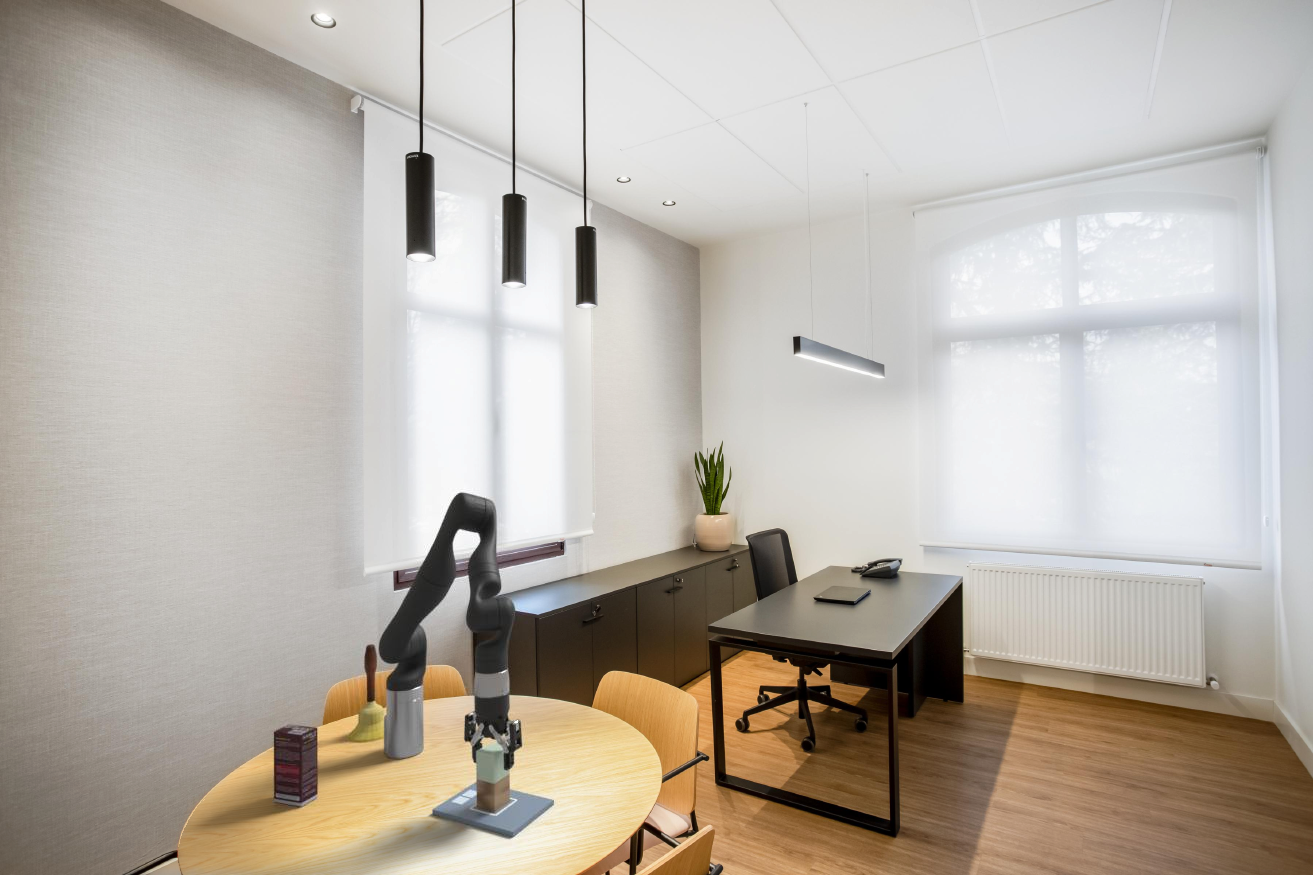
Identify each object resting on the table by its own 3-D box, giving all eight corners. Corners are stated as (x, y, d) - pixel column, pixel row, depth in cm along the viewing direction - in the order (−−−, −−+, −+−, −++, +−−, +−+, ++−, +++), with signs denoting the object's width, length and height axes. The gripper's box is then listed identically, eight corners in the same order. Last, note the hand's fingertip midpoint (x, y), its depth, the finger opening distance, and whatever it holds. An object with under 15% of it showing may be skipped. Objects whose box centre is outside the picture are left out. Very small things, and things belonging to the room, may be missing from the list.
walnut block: (476, 807, 143) (476, 779, 143) (492, 796, 147) (491, 769, 147) (494, 812, 140) (494, 783, 141) (509, 801, 145) (509, 773, 145)
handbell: (337, 739, 185) (336, 648, 186) (371, 722, 196) (371, 638, 197) (370, 745, 180) (370, 652, 181) (403, 728, 191) (403, 641, 192)
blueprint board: (432, 813, 142) (432, 808, 142) (477, 785, 155) (477, 780, 155) (513, 836, 133) (513, 831, 133) (554, 804, 145) (553, 799, 145)
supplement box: (319, 797, 151) (318, 726, 152) (301, 807, 147) (301, 735, 148) (290, 792, 154) (290, 723, 155) (272, 802, 150) (272, 731, 150)
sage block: (476, 779, 143) (476, 750, 143) (492, 769, 147) (491, 742, 148) (494, 783, 141) (493, 754, 141) (509, 773, 145) (509, 745, 145)
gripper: (455, 691, 145) (456, 766, 144) (506, 699, 138) (507, 778, 138) (478, 681, 152) (479, 752, 151) (528, 688, 145) (529, 763, 144)
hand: (493, 765), depth 144 cm, fingers open, 8 cm apart
